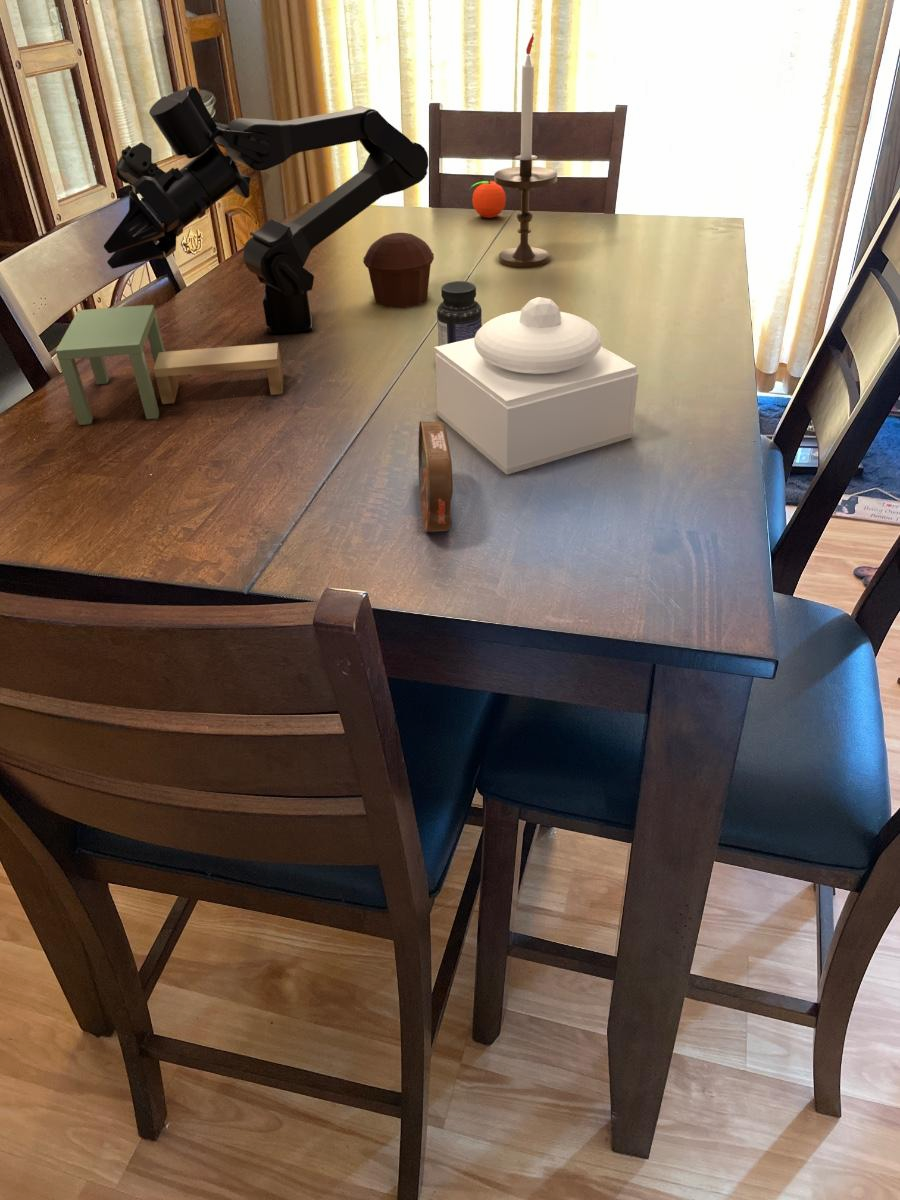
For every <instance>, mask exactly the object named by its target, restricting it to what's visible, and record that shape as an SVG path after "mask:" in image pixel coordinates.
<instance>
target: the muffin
mask: <svg viewBox="0 0 900 1200" xmlns="http://www.w3.org/2000/svg"><path fill="white" fill-rule="evenodd" d="M434 259H435V255H434V253H433V251H432V249H431V247H430V246H429V244H428V243H427V242H426V241H424V240H423V239H421V238H420V237H418V236H417V235H415V234H412V233H409V232H408V233H407V232H392V233H388V234H385V235H383V236H381V237H379V238H378V239H377V240H375V241H374V242H373V243H371V245H370V246H369V247H368V249H367V251H366V253H365V255H364V257H363V261H362V263H363V265H364V267H366V268H367V270H368V275H369V279H370V284H371V288H372V292H373V297H374V301H375V304H378V305H380V306H383V307H385V308H397V309H405V308H409V307H415V306H419V305H421V304H422V303H424V302H426V301H427V300H428V293H429V284H430V274H431V267H432V266H431V265H432V263H433V261H434Z"/></svg>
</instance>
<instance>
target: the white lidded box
mask: <svg viewBox="0 0 900 1200" xmlns="http://www.w3.org/2000/svg"><path fill="white" fill-rule="evenodd" d="M602 344H603V340H602V336H601V333H600V331H599V330H598V329H597V328H596V327H595V326H594V324H593V323H591V322H590V321H588V320H586V319H585V318H583V317H580V316H578V315H575V314H572V313H569V312H565V311H561V310H560V307H559V306H558V305H557V304H556V303H555V302H554V301H553V300H552V298H547V297H542V296H541V297H540V296H537V297H535V298H533V299H530V300H529V301H527V303H525V305H524V306H523V307H522V308H521V309H520V310H517V311H511V312H508V313H507V312H506V313H503V314H500V315H498V316H496V317H494V318H491V319H490V320H488V321H487V322H485V323H483V325H482V327H481V328H480V329H479V330H478V331H477V333H476V335H475V338H471V339H467V340H463V341H459V342H454V343H450V344H446V345H441V346H439V345H438V346H433V350H434V351H433V352H434V359H435V383H436V384H435V386H436V406H437V407H436V408H437V409H436V410H437V416H438V417H439V418H440V419H441V420H442V421H443V422H444V423H446V424H447V425H448V426H449V427H450V428H452V429H453V430H454V431H455V432H456V433H458V435H460V436H461V437H462V438H463V439H465V441H467V442H468V443H469V444H470V445H471V446H472V447H474V449H476V450H477V451H478V452H479V453H481V455H483V456H484V457H485V458H486V459H487V460H489V461H490V462H491V463H492V464H493V465H494V466H496V467H497V468H498V469H499V470H500V471H501V472H502V473H504V474H505V475H506V476H508V475H511V474H514V473H518V472H521V471H524V470H527V469H531V468H534V467H537V466H541V465H544V464H548V463H551V462H554V461H558V460H561V459H565V458H568V457H571V456H574V455H578V454H581V453H584V452H589V451H591V450H595V449H598V448H601V447H604V446H608V445H611V444H615V443H619V442H622V441H625V440H628V439H632V433H633V429H634V422H635V421H634V420H635V411H636V402H637V394H638V393H637V392H638V385H639V376H640V375H639V373H637V366H636V365H634V363H633V364H632V363H631V362H630V361H628V360H626V359H624V358H622V357H621V356H619V355H618V354H616V353H614V352H612V351H611V350H609V349H607V348H605V347H603V346H602Z"/></svg>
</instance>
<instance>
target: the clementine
mask: <svg viewBox="0 0 900 1200" xmlns="http://www.w3.org/2000/svg"><path fill="white" fill-rule="evenodd" d="M476 185H477V186H476ZM474 186H476V187H475V189H474V191H473V193H472V200H471V201H472V206H473V209H474V210H475V212H476V214H478V215H479V216H481V217H483V218H486V219H492V218H495V217H497V216H498V215H500V214H501V213H502V212H503V210H504V209H505V207H506V204H507V203H506V202H507V196H506V192H505V189H504V188H503V186H500V185H498V184H496V183H495V182H494V180H489V179H488V180H484V181H483V180H481V181H479V182H476V183H474V184H473V185H472V187H474ZM470 190H471V188H469V189H468V191H467V193H469V192H470Z"/></svg>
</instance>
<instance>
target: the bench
mask: <svg viewBox="0 0 900 1200" xmlns="http://www.w3.org/2000/svg"><path fill="white" fill-rule="evenodd" d="M262 369H264V370H266V375H267V380H268V387H269V392H270V393H269V394H270V396H274V395H276V396H277V395H283V393H284V373H283V372H284V371H283V367H282V359H281V354H280V346H279V342H270V343H258V344H248V345H247V344H246V345H234V346H221V347H208V348H195V349H185V350H184V349H181V350H170V351H165V352H159V353H158V357H157V360H156V363H154V366H153V374H154V376H155V381H156V385H157V389H158V393H159V397H160V401H161V405H169V404H175V402H176V397H177V394H178V391H179V381H178V377H177V376H189V375H202V374H213V373H214V374H215V373H225V372H236V371H237V372H238V371H249V370H262Z"/></svg>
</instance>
